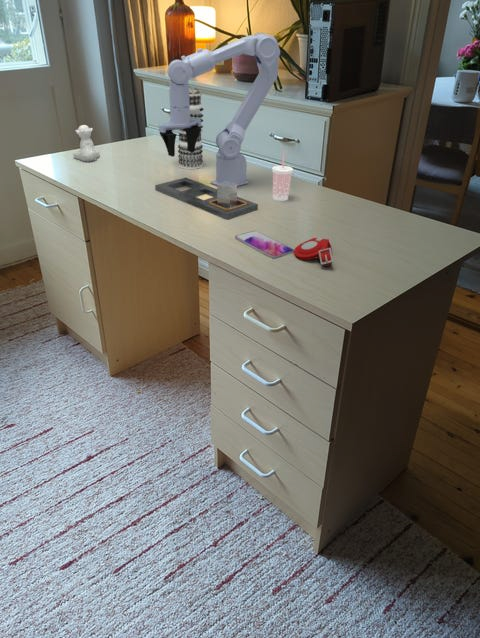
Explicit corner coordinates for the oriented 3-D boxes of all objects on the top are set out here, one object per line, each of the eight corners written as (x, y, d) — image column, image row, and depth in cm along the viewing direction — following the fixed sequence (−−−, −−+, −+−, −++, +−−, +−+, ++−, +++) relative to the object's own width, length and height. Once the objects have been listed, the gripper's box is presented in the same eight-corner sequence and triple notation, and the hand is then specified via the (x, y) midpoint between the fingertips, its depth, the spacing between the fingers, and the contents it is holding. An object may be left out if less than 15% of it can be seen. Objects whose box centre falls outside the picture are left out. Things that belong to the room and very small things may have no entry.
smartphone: (255, 230, 134) (295, 250, 124) (255, 233, 134) (295, 253, 124) (233, 235, 130) (273, 257, 120) (233, 239, 130) (273, 260, 120)
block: (224, 205, 150) (224, 181, 146) (236, 207, 148) (237, 183, 144) (217, 209, 147) (217, 184, 143) (229, 211, 145) (230, 187, 141)
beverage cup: (294, 198, 156) (299, 151, 149) (282, 203, 152) (285, 155, 145) (278, 193, 159) (282, 147, 152) (266, 198, 156) (268, 150, 148)
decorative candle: (189, 160, 187) (187, 85, 174) (209, 165, 183) (208, 88, 169) (172, 166, 181) (168, 88, 167) (192, 171, 176) (190, 92, 163)
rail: (185, 182, 166) (185, 176, 165) (257, 209, 147) (257, 203, 146) (155, 190, 159) (155, 184, 158) (227, 219, 140) (227, 213, 139)
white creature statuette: (99, 155, 190) (95, 121, 184) (104, 161, 183) (100, 126, 177) (73, 157, 187) (68, 122, 180) (77, 163, 180) (72, 128, 174)
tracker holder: (284, 251, 122) (308, 230, 127) (289, 267, 124) (312, 246, 129) (327, 257, 114) (351, 234, 119) (331, 274, 116) (354, 251, 121)
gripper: (190, 101, 157) (191, 147, 165) (151, 106, 149) (154, 154, 156) (205, 105, 153) (205, 151, 161) (166, 110, 144) (168, 160, 152)
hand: (181, 153), depth 158 cm, fingers open, 7 cm apart
